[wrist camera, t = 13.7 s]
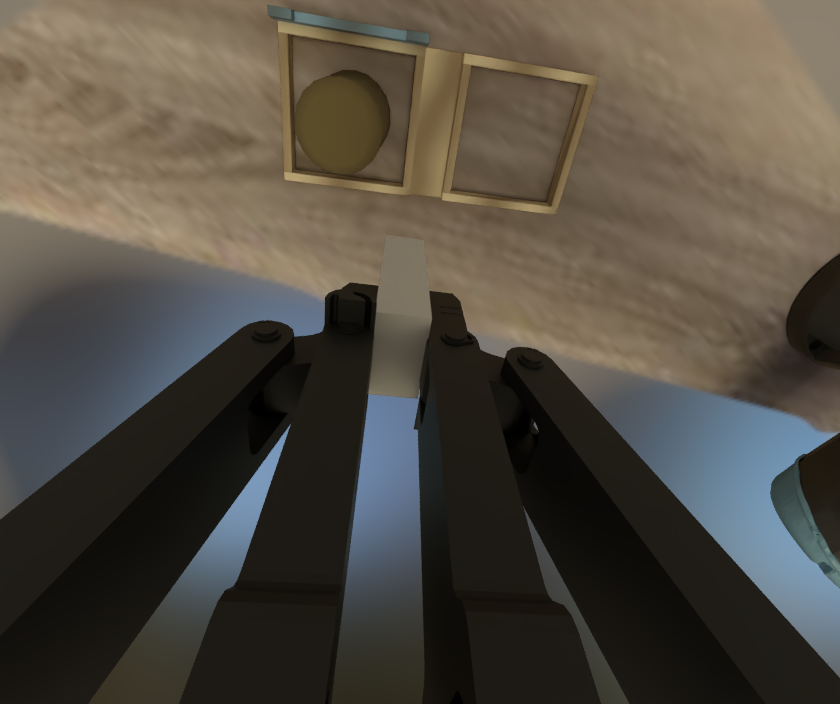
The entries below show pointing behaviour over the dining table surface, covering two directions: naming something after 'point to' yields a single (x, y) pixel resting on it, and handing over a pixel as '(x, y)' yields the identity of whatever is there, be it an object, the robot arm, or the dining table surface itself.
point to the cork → (342, 121)
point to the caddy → (422, 109)
